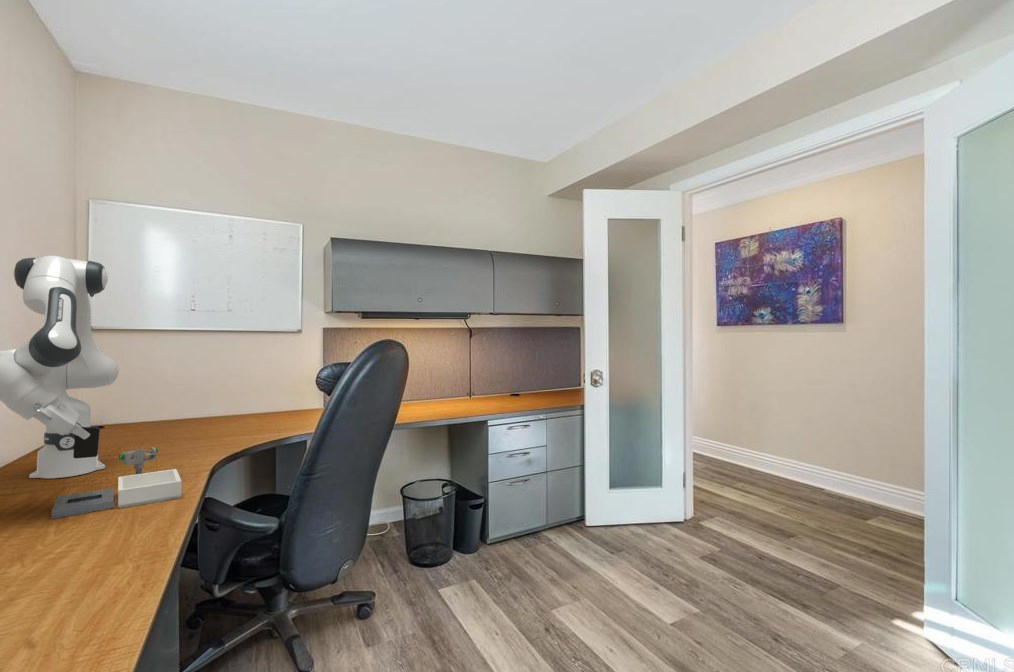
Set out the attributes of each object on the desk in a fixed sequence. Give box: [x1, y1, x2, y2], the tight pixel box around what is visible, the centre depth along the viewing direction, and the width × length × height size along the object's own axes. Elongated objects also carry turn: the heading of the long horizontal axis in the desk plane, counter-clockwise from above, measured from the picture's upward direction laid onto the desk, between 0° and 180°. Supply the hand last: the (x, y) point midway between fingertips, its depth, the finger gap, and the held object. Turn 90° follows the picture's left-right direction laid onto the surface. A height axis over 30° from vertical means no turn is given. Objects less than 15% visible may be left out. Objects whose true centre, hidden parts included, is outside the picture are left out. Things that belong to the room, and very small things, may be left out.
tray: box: [117, 468, 182, 509], centre depth 139 cm, size 16×14×5 cm
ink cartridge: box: [73, 426, 101, 458], centre depth 131 cm, size 5×2×8 cm, turn 128°
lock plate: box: [51, 487, 115, 520], centre depth 131 cm, size 14×12×2 cm
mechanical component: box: [118, 447, 159, 475], centre depth 152 cm, size 3×10×10 cm, turn 155°
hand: (88, 436), depth 131 cm, fingers closed on ink cartridge, 1 cm apart
